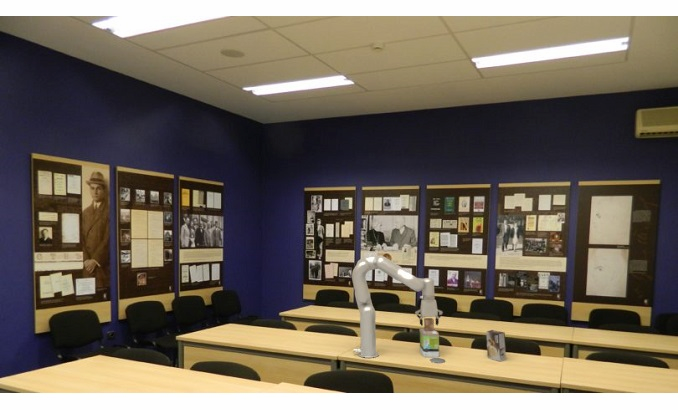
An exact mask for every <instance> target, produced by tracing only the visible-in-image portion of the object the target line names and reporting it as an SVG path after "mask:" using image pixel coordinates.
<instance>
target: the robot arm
mask: <svg viewBox="0 0 678 410" xmlns="http://www.w3.org/2000/svg"><path fill="white" fill-rule="evenodd" d="M377 269H378V270H380V271H381V272H383V273H384V274H386V275H388V276H390V277H391V278H393V279H394V280H396V281H398V282H400V283H402V284H404V285H405V286H406V287H408V288H410V289H411V290H413V291H415V292H421V293H422V295H420V296H419V299H421V302H420V309H418V310H416V311H415V312H414V313H415V315H416V317H417V318H418V320H419V325H420V326H421V327H422V326H424V323H423V322H424V319H423V318H433V317H435V325H436V326H439V321H440V318H441V317H442V315H443V313H444V312H443V310H440V309H438V305H437V300H436V299H435V280H434V278H432V277H431V278H430V277H425V278H424V277H423V278H420V277H416V276H415V275H413V274H411V273H410V272H408V271H407V270H406V269H405V268H403V267H402V266H400V265H398V264H397V263H395V262H393V261H392V260H391V259H389V258H388V257H385V256H384V255H379V254H378V255H375V256H370V257H364V258H360V259H359V260H358V261H357V263H356V265H355V267H354V268H353V270H352V273H351V280H352V284H353V288H354V297H355V300H356V304H357V308H358V311H359V317H360V319H359V328H360V329H359V332H360V334H359V335H360V347H359V348H353V353H357V354H358V357H360V358H363V357H365V358H364V359H372V358H373V357H374V358H377V357H379V352H378V351H377V346H376V342H377V341H376V340H377V339H376V317H377V316H376V310H375V307H374V306H373V303H372V299H371V292H370V290H369V287H368V282H367V278H366V275H367V273H369V272H370V271H373V270H377ZM419 313H420V314H419Z"/></svg>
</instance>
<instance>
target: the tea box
mask: <svg viewBox="0 0 678 410" xmlns="http://www.w3.org/2000/svg"><path fill="white" fill-rule="evenodd" d="M419 351H420V353H421V355H422V357H424V358H440V334H439V331H437V330H436V328H434V331H426V330H425V329H424V327H422V328H421V327H420V328H419Z"/></svg>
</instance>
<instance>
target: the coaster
mask: <svg viewBox="0 0 678 410" xmlns="http://www.w3.org/2000/svg"><path fill="white" fill-rule="evenodd" d="M429 361H431V363H433V362H434V363H433V364H443V362H444V363H446V359H444V358H441V357H431V358H430V359H429Z"/></svg>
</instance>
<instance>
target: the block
mask: <svg viewBox="0 0 678 410" xmlns="http://www.w3.org/2000/svg"><path fill="white" fill-rule="evenodd" d="M423 318H424V319H423V322H424V323H423V326H424V327H423V328H424V329H425V330H426V331H434V329H435V319H434V318H433V317H423Z"/></svg>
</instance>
